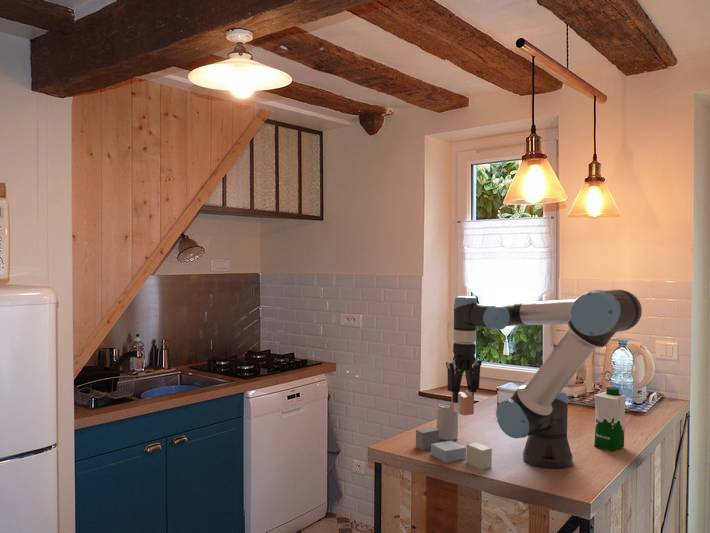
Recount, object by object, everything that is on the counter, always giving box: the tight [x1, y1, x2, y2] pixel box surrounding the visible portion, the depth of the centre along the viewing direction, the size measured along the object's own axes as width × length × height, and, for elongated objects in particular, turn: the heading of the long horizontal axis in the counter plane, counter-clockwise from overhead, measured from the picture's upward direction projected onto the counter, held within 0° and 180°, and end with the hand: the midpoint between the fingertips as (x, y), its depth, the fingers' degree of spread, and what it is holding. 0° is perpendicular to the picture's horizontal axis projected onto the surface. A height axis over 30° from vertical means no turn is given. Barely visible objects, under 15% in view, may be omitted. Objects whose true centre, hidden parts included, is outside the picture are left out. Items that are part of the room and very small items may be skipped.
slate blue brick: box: [430, 440, 467, 463], centre depth 196 cm, size 8×8×4 cm
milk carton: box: [593, 386, 627, 453], centre depth 206 cm, size 9×9×20 cm
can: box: [436, 403, 459, 442], centre depth 215 cm, size 8×8×12 cm
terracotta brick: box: [450, 391, 475, 416], centre depth 203 cm, size 7×4×6 cm, turn 28°
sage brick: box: [465, 441, 493, 471], centre depth 188 cm, size 7×4×6 cm, turn 31°
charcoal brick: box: [415, 426, 440, 451], centre depth 205 cm, size 7×4×6 cm, turn 121°
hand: (463, 411), depth 203 cm, fingers closed on terracotta brick, 4 cm apart
